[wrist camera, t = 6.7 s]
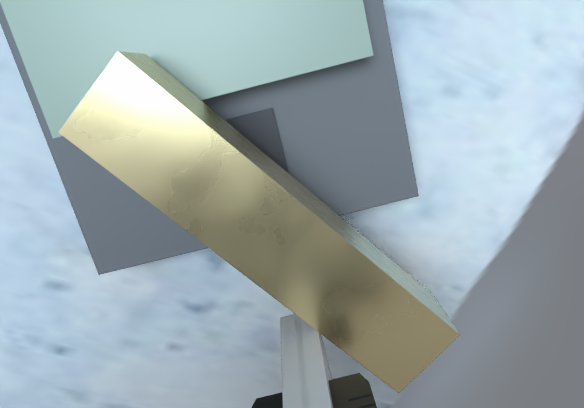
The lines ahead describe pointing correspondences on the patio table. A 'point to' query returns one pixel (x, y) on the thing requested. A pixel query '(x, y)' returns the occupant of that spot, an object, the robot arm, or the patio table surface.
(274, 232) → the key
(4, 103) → the patio table surface
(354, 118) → the plate
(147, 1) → the cover
